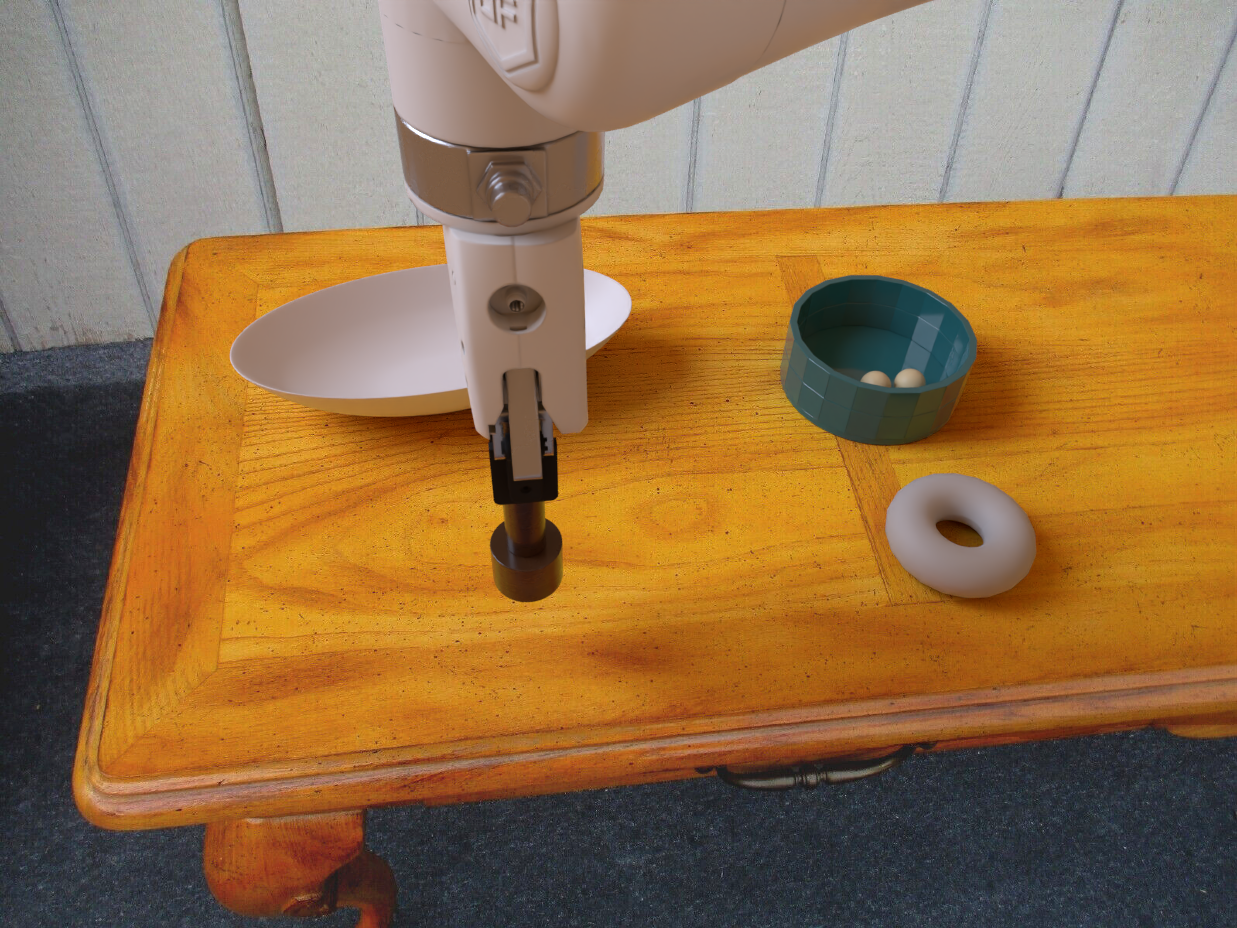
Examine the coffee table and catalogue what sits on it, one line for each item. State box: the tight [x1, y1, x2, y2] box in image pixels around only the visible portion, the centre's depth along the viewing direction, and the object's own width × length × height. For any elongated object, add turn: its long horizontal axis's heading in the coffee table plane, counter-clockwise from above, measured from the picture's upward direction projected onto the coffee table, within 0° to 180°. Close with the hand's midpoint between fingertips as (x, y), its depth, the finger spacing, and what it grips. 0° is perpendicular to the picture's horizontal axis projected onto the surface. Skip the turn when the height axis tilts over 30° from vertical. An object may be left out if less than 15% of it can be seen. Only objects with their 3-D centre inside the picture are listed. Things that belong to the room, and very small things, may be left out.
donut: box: [884, 472, 1037, 599], centre depth 65 cm, size 10×4×10 cm
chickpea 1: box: [860, 371, 891, 388], centre depth 75 cm, size 2×2×2 cm
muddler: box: [489, 420, 564, 603], centre depth 50 cm, size 4×4×14 cm
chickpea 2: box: [894, 369, 926, 387], centre depth 75 cm, size 2×2×2 cm
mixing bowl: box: [779, 274, 978, 446], centre depth 76 cm, size 14×14×6 cm
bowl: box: [229, 263, 633, 418], centre depth 74 cm, size 30×15×6 cm, turn 106°
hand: (523, 474), depth 49 cm, fingers closed on muddler, 2 cm apart
